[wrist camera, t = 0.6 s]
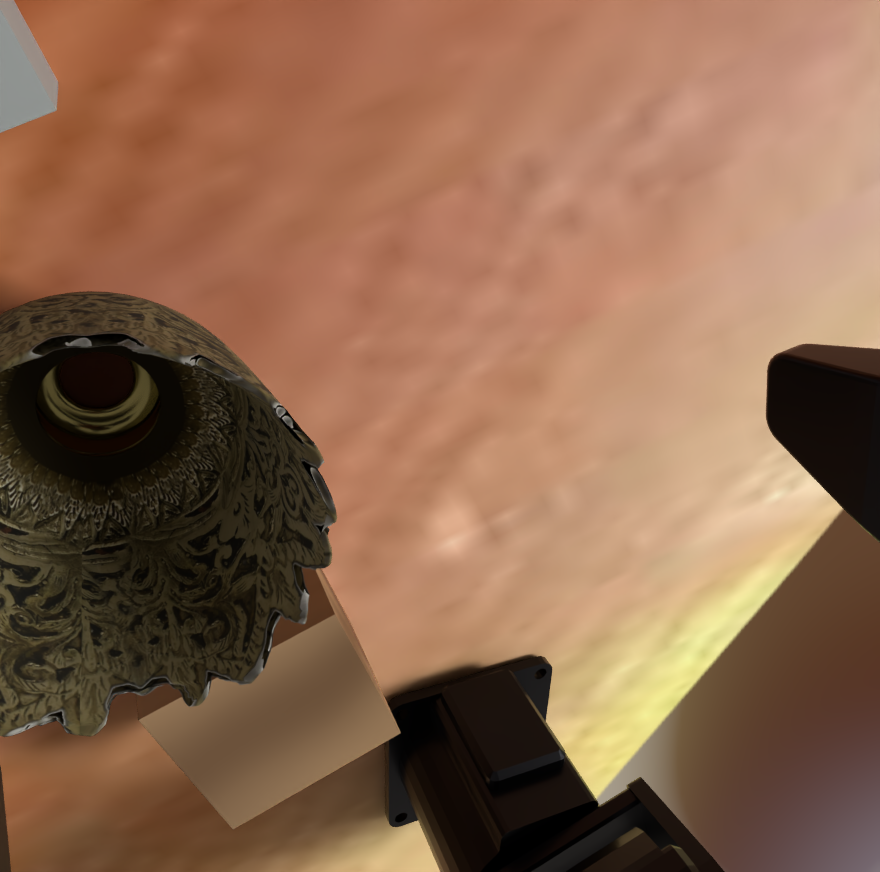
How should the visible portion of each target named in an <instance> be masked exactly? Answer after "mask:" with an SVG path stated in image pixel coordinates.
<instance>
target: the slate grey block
mask: <svg viewBox="0 0 880 872" xmlns="http://www.w3.org/2000/svg"><path fill="white" fill-rule="evenodd" d="M57 96H58V81H57V79H56V77H55V75H54V73H53V72H52V70H51V68H50V66H49V64H48V62H47V61H46V59H45V57H44V55H43V53H42V51H41V50H40V48H39V46H38V44H37V42H36V40H35V38H34V37H33V35H32V33H31V31H30V29H29V27H28V26H27V24H26V22H25V20H24V18H23V16H22V14H21V13H20V11H19V9H18V7H17V5H16V3H15V2H14V0H0V133H1V132H3V131H6V130H8V129H11V128H13V127H16V126H18V125H21V124H23V123H26V122H28V121H31V120H34V119H36V118H39V117H41V116H44V115H46V114H49V113H51V112H54V111H56V110H57Z"/></svg>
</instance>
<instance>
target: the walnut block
mask: <svg viewBox="0 0 880 872" xmlns="http://www.w3.org/2000/svg"><path fill="white" fill-rule="evenodd" d="M302 571H303V575H304V581H305V585H306V587H307V589H308V592H309V601H308V614H307V621H306V623H305V624H303V625H302V624H300V623H294V622H291V621H290V620H285V619H284V618H283V617H280V619H279V621H278V622H277V624H276V627H275V630H274V634H273V643H272V648H271V652H270V654H269V657H268V660H267V663H266V665H265V668H264V669H263V671H262V672H261V673H260V674H259V675H258V677H257V678H256V679H255V680H254V681H253V682H252V683H250V684H245V685H239V684H238V683H236V682H231V681H224V680H222V679H219V678H218V677H212V681H211V686H210V690H209V694H208V696H207V697H206V699H205V700H204V701H203V703H202V704H200V705H199V706H193V707H189V706H188V705H187V704H186V703H185V702H184V700H183V698H182V695H181V693H180V691H179V690H178V689H173V688H172V687H171V686H170V685H169V684H168V685H166V684H160V685H164V686H158V687H157V688H155V689H154V690H153V691H152V692H150V693H149V694H147V695H145V696H141V695H138V694H136V702H137V712H138V720H139V722H140V723H141V724H142V725H143V726H144V727H145V728H146V730H147V731H148V732H149V733H150V734H151V735H152V737H153V738H154V739H155V740H156V741H157V742H158V744H159V745H160V746H161V747H162V748H163V749H164V750H165V752H166V753H167V754H168V755H169V756H170V757H171V759H172V760H173V761H174V762H175V763H176V764H177V765H178V767H179V768H180V769H181V770H182V771H183V772H184V774H185V775H186V776H187V777H188V778H189V779H190V781H191V782H192V783H193V784H194V785H195V786H196V787H197V789H198V790H199V791H200V792H201V793H202V794H203V796H204V797H205V798H206V799H207V800H208V801H209V802H210V804H211V805H212V806H213V807H214V808H215V809H216V811H217V812H218V813H219V814H220V815H221V816H222V818H223V819H224V820H225V821H226V822H227V823H228V824H229V826H230V827H231V828H232V829H235V828H237V827H238V826H240V825H242V824H244V823H245V822H247V821H249V820H251V819H252V818H254V817H256V816H258V815H259V814H261V813H263V812H265V811H266V810H268V809H270V808H272V807H273V806H275V805H277V804H278V803H280V802H282V801H284V800H285V799H287V798H289V797H291V796H292V795H294V794H296V793H298V792H299V791H301V790H303V789H305V788H306V787H308V786H310V785H311V784H313V783H315V782H317V781H318V780H320V779H322V778H324V777H325V776H327V775H329V774H331V773H332V772H334V771H336V770H338V769H339V768H341V767H343V766H344V765H346V764H348V763H350V762H351V761H353V760H355V759H357V758H358V757H360V756H362V755H364V754H365V753H367V752H369V751H371V750H372V749H374V748H376V747H378V746H379V745H381V744H383V743H384V742H386V741H388V740H390V739H391V738H393V737H395V736H397V735H398V734H400V733H401V732H400V730H399V728H398V725H397V723H396V721H395V719H394V717H393V715H392V712H391V710H390V708H389V706H388V704H387V701H386V699H385V697H384V695H383V693H382V691H381V688H380V686H379V684H378V682H377V680H376V678H375V675H374V673H373V671H372V669H371V667H370V664H369V662H368V660H367V658H366V656H365V654H364V651H363V649H362V647H361V645H360V643H359V640H358V638H357V636H356V634H355V632H354V630H353V627H352V625H351V623H350V621H349V619H348V617H347V615H346V613H345V612H344V610H343V608H342V606H341V604H340V602H339V601H338V599H337V597H336V595H335V593H334V591H333V589H332V588H331V586H330V584H329V582H328V580H327V578H326V577H325V575H324V573H323V571H322V569H321V568H317V569H316V570H312V569H309V568H308V569H306V568H302Z"/></svg>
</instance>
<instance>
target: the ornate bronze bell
mask: <svg viewBox="0 0 880 872" xmlns="http://www.w3.org/2000/svg"><path fill="white" fill-rule="evenodd" d="M91 352H105V353H112V354H116V355H120V356H123V357H125V358H126V359H127V360H128V362H129V363H130V365H131V367H132V370H133V375H134V381H133V386H132V388H131V390H130V392H129V394H128V395H127V396H126V397H125V398H124V399H123V400H122V401H121V402H119V403H117V404H115V405H113V406H110V407H106V408H88V407H85V406H82V405H79V404H77V403H76V402H74V401H73V400H72V399H70V398H69V397H68V396H67V394H66V393H65V392H64V390H63V388H62V386H61V382H60V371H61V367H62V365H63V363H64V361H65V360H66V359H68V358H71V357H73V356H76V355H80V354H84V353H91ZM323 463H324V460H323V458H322V456H321V453H320V451H319V450H318V448H317V446H316V445H315V443H314V442H313V441H312V440H311V439H310V438H309V437H308V436H307V435H306V434H305V433H304V432H303V431H302V429H301V428H300V427H299V426H298V424H297V423H296V422H295V421H294V419H293V418H292V417H291V415H290V414H289V413H288V411H287V410H286V409H285V408H284V407H283V406H282V405H281V404H280V403H279V402H278V400H277V399H276V398H275V397H274V396H273V395H272V393H271V392H270V391H269V390H268V389H267V388H266V387H265V385H264V384H263V383H262V382H261V381H260V380H259V379H258V378H257V376H256V375H255V374H254V373H253V372H252V371H251V370H250V369H249V368H248V367H247V366H246V364H245V363H244V362H243V361H242V360H241V359H240V358H239V357H238V356H237V355H236V354H235V353H234V352H232V351H231V350H230V349H229V348H228V347H227V346H226V345H225V344H224V343H223V342H222V341H221V340H220V339H218V338H217V337H216V336H214V335H213V334H212V333H211V332H209V331H208V330H207V329H205V328H204V327H203V326H201V325H200V324H198V323H197V322H195V321H193V320H192V319H190V318H188V317H187V316H185V315H183V314H181V313H179V312H177V311H175V310H173V309H170V308H168V307H166V306H163V305H160V304H158V303H155V302H152V301H149V300H146V299H143V298H138V297H134V296H130V295H125V294H118V293H110V292H74V293H65V294H59V295H53V296H48V297H45V298H41V299H38V300H34V301H31V302H28V303H26V304H23V305H21V306H18V307H16V308H13V309H11V310H8V311H6V312H4V313H2V314H1V315H0V736H4V737H7V736H12V735H16V734H19V733H21V732H23V731H25V730H27V729H30V728H32V727H34V726H37V725H39V726H42V725H44V724H46V723H50V722H54V721H58V722H60V723H61V725H62V726H63V727H64V729H65V731H66V732H67V733H70V734H74V735H81V736H94V735H95V734H97V733H98V732H99V731H100V730H101V729H102V728H103V727H104V726H105V724H106V722H107V716H108V714H109V709H110V705H111V702H112V700H113V699H114V698H115V697H116V696H117V695H119V694H124V693H127V692H132V693H136V694H138V695H141V696H145V695H147V694H149V693H150V692H152V691H153V690H154V689H155V688H157V687H158V686H164V685H160V684H166V685H168V684H169V685H170V686H171V687H172V688H173V689H178V690H179V691H180V693H181V695H182V698H183V700H184V702H185V703H186V704H187V705H188V706H189V707H193V706H199V705H200V704H202V703H203V701H204V700H205V699H206V697H207V696H208V694H209V690H210V686H211V681H212V677H218V678H219V679H222V680H224V681H231V682H236V683H238V684H239V685H245V684H250V683H252V682H253V681H254V680H255V679H256V678H257V677H258V675H259V674H260V673H261V672H262V671H263V669H264V668H265V665H266V663H267V660H268V657H269V654H270V652H271V648H272V643H273V634H274V630H275V627H276V624H277V622H278V621H279V619H280V617H283V618H284V619H285V620H290V621H291V622H294V623H300V624H302V625H303V624H305V623H306V621H307V614H308V601H309V592H308V589H307V587H306V585H305V581H304V575H303V571H302V568H306V569H308V568H309V569H312V570H316V569H317V568H325V567H327V566H329V565H330V564H331V559H332V550H331V545H330V543H329V539H328V536H327V535H328V532H329V528H328V527H327V526H331V525H332V524H333V523H335V522H336V520H337V515H336V509H335V505H334V502H333V499H332V497H331V494H330V492H329V490H328V487H327V485H326V483H325V481H324V479H323V477H322V476H321V474H320V472H319V471H318V468H319V467H320V466H321V464H323ZM316 467H317V468H316ZM118 693H119V694H118ZM115 694H117V695H115ZM113 695H115V696H114V697H113ZM112 697H113V698H112Z"/></svg>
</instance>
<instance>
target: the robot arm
mask: <svg viewBox="0 0 880 872" xmlns="http://www.w3.org/2000/svg"><path fill="white" fill-rule="evenodd" d="M766 420H767V424H768V427H769V429H770V431H771V433H772V434H773V436H774V437H775V438H776V439H777V440H778V441H779V442H780V443H781V445H782V446H783V447H784V448H785V449H786V450H787V451H788V452H789V453H790V454H791V455H792V456H793V457H794V458H795V459H796V460H797V461H798V462H799V463H800V464H801V465H802V466H803V467H804V468H805V469H806V470H807V471H808V472H809V474H810V475H811V476H812V477H813V478H814V479H815V480H816V481H817V482H818V483H819V484H820V485H821V486H822V487H823V488H824V489H825V490H826V491H827V492H828V493H829V494H830V495H831V496H832V497H833V498H834V499H835V500H836V501H837V503H838V504H839V505H840V506H841V507H842V508H843V509H844V510H845V511H846V512H847V513H848V514H849V515H850V516H851V517H853V519H854V520H855V521H856V522H857V523H858V524H860V525H861V526H862V527H863V528H864V529H865V530H866V531H867V532H869V534H871V535H872V536H873V537H874V538H875V539H876V540H877V541H878V542H880V349H872V348H859V347H845V346H832V345H819V344H802V345H798V346H796V347H793V348H791V349H788V350H786V351H783V352H781V353H778V354H776V355H775V356H774V357H773V358H772V359H771V360H770V362H769V365H768V370H767V398H766ZM551 676H552V666H551V665H550V664H549V662H548V661H547V660H546V658H545V657H542V656H538V657H534V658H530V659H527V660H523V661H520V662H516V663H513V664H509V665H506V666H502V667H499V668H495V669H492V670H488V671H485V672H481V673H478V674H474V675H471V676H467V677H464V678H460V679H457V680H453V681H450V682H446V683H443V684H439V685H436V686H432V687H429V688H425V689H422V690H418V691H415V692H411V693H408V694H404V695H401V696H398V697H395V698H393V699H392V700H391V701H390V702H389V703H388V706H389V708H390V710H391V712H392V715H393V717H394V719H395V721H396V723H397V725H398V728H399V730H400V732H401V733H400V734H398V735H397V736H395V737H393V738H391V739H390V740H388V741H386V742H385V813H386V816H387V819H388V822H389V824H390V825H391V826H392V827H399V826H403V825H406V824H409V823H411V822H414V821H417V820H418V821H419V823H420V825H421V828H422V830H423V832H424V835H425V837H426V839H427V842H428V844H429V846H430V849H431V851H432V853H433V856H434V858H435V860H436V863H437V865H438V867H439V869H440V872H724V871H723V869H722V868H721V867H720V866H719V865H718V864H717V862H716V861H715V860H714V859H713V857H712V856H711V855H710V854H709V853H708V852H707V851H706V850H705V848H704V847H703V846H702V845H701V844H700V843H699V842H698V841H697V839H695V837H694V836H693V835H692V834H691V833H690V832H689V830H688V829H687V828H686V827H685V826H684V825H683V824H682V823H681V821H680V820H679V819H678V818H677V817H676V816H675V815H674V814H673V813H672V811H671V810H670V809H669V808H668V807H667V806H666V805H665V804H664V802H663V801H662V800H661V799H660V798H659V797H658V796H657V795H656V793H655V792H654V791H653V790H652V789H651V788H650V787H649V786H648V784H646V782H645V781H644V780H643V779H642V778H641V777H639V778H637V779H636V780H634V781H633V782H631V783H630V784H628V785H627V789H626V790H624V791H622V792H621V793H619V794H618V795H616V796H614V797H613V798H611V799H610V800H608V801H606V802H605V803H603V804H602V805H599V804H598V801H597V800H596V798H595V797H594V795H593V794H592V792H591V791H590V789H589V788H588V786H587V785H586V783H585V782H584V780H583V779H582V777H581V776H580V774H579V773H578V771H577V770H576V768H575V767H574V765H573V764H572V762H571V761H570V759H569V758H568V756H567V755H566V753H565V750H564V748H563V747H562V745H561V744H560V742H559V741H558V739H557V738H556V736H555V735H554V733H553V732H552V730H551V729H550V727H549V726H548V724H547V723H546V714H547V706H548V699H549V691H550V683H551ZM400 710H401V711H400ZM0 872H11V866H10V855H9V845H8V835H7V824H6V814H5V804H4V793H3V783H2V773H1V767H0Z"/></svg>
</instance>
